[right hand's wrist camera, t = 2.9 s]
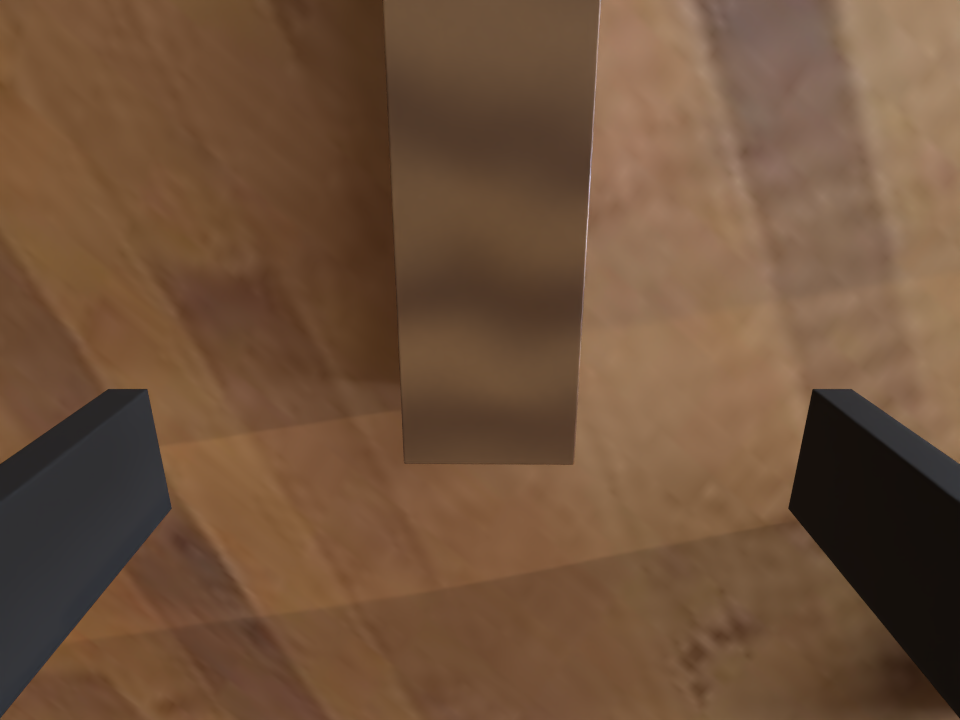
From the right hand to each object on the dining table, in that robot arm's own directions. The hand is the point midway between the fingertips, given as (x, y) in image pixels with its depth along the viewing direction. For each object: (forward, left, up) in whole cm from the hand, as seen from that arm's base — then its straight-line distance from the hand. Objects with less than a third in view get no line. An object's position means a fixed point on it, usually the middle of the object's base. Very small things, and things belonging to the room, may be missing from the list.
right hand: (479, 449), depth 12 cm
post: (-4, -33, -16) cm, 37 cm away
